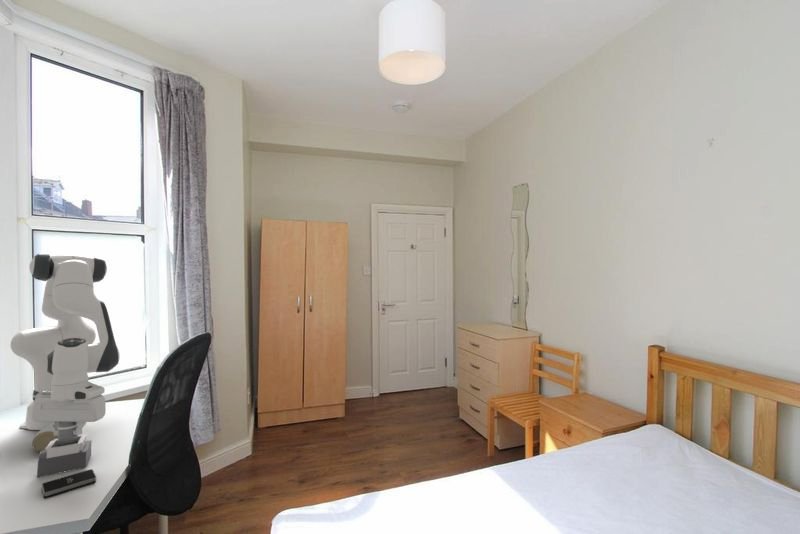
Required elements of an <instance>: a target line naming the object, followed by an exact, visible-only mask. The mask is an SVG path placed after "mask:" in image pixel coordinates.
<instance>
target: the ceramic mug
mask: <svg viewBox="0 0 800 534" xmlns="http://www.w3.org/2000/svg"><path fill="white" fill-rule="evenodd" d="M54 439H58V435H56V436H54V430H53V429H52V427H51V426H50V423H48V424H46V425H45V426H43V427H42V428H41V430H38V432H37V433H36V434H35V436H34V437H33V439H32V441H31V444H32V448H33V449H34V450H35V451H36V452H39V453H40V452H41V451H43V450H45V448H46V447H47V446H48V444H49V443H50V442H51V441H54Z"/></svg>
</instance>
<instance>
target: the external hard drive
mask: <svg viewBox="0 0 800 534" xmlns="http://www.w3.org/2000/svg"><path fill="white" fill-rule="evenodd" d="M96 482H97V475H96V474H95V471H94V470H93V468H90V469H87V470H84V471H79V472H77V473H73V474H69V475H67V476H66V475H65V476H63V477H58V478H56V479H53V480H49V481H45V482H42V483H41V492H42V496H43V498H44V499H50V498H52V497H55V496H59V495H62V494H65V493H68V492H72V491H74V490H77V489H81V488H85V487H87V486H90V485H94V484H95V483H96Z"/></svg>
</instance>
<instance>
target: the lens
mask: <svg viewBox="0 0 800 534" xmlns="http://www.w3.org/2000/svg"><path fill="white" fill-rule="evenodd" d="M77 427H78V425H77V422H59V426H58V429H59V430H58V447H59V446H65V445H71V444H76V443H77V437H78V436H74V435H73V430H75V429H77Z"/></svg>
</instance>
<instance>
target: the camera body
mask: <svg viewBox="0 0 800 534" xmlns="http://www.w3.org/2000/svg"><path fill="white" fill-rule="evenodd" d="M91 457H92V440H91V439H90V440H87V434H84V433H82V434H81V435H79V436H78V437H77V443H76V444H71V445H65V446H59V447H58V439H54V441H51V442H50V443H49V444H48V446H47V447H46V448H45V450H43V451H41V452H39V454H38V460H37V475H36V477H37V478H41V477H40V476H42V477H46V476H45V475H47V476H51V474H52V475H56V474H55V473H57V474H60V473H59V472H62V473H65V472H64V471H67V472H69V471H68V470H71V471H74V470H73V469H76V470H80V469H79V468H81V469H85V468H84V467H86V468H87V466H86V465H88V463H89V461H90V459H91Z"/></svg>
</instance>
